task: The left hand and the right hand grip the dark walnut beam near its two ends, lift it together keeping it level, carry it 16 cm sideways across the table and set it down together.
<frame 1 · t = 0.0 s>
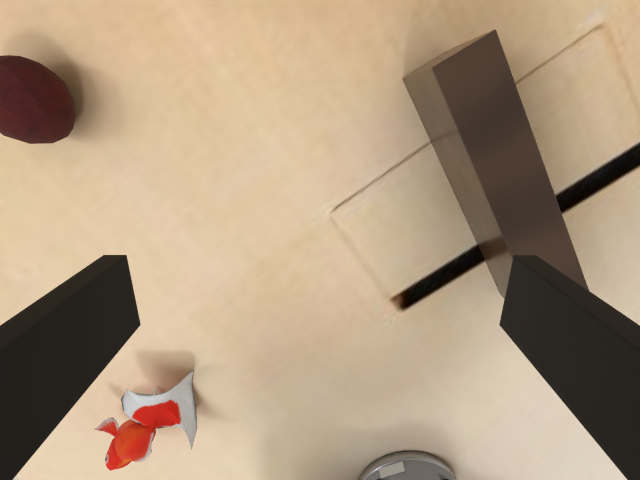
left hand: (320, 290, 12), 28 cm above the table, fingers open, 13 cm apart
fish: (162, 394, 49), on the table
beam: (477, 186, 39), on the table
dark maroon ball: (55, 103, 36), on the table
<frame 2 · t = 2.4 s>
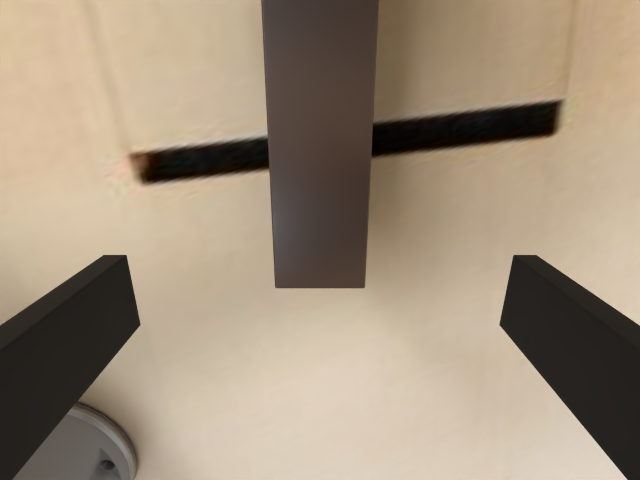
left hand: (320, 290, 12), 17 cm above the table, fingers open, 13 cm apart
beam: (320, 36, 24), on the table
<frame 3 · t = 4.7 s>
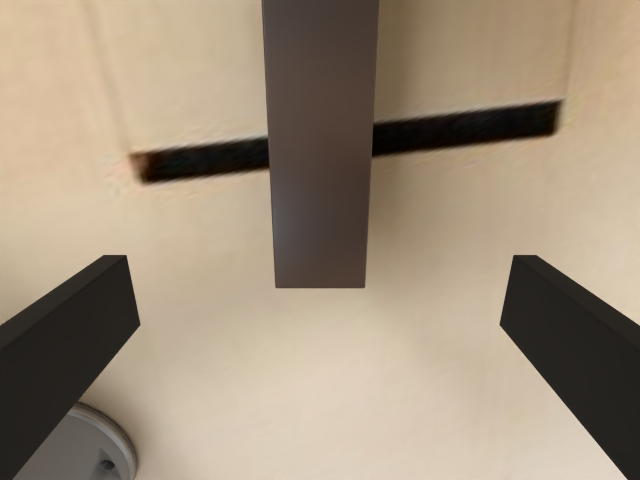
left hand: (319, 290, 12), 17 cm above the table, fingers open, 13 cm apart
beam: (320, 36, 24), on the table, touching right hand
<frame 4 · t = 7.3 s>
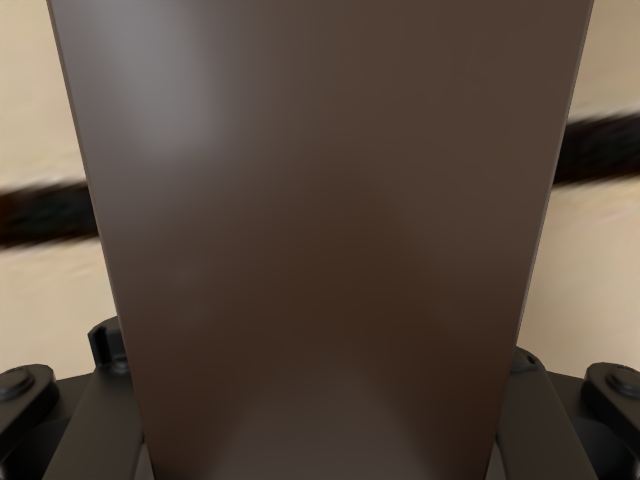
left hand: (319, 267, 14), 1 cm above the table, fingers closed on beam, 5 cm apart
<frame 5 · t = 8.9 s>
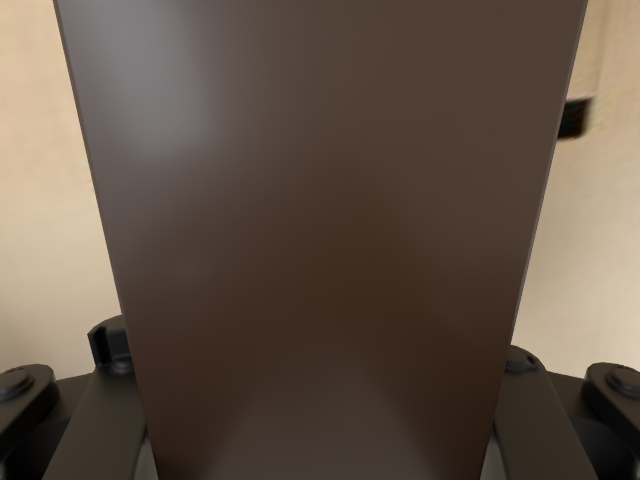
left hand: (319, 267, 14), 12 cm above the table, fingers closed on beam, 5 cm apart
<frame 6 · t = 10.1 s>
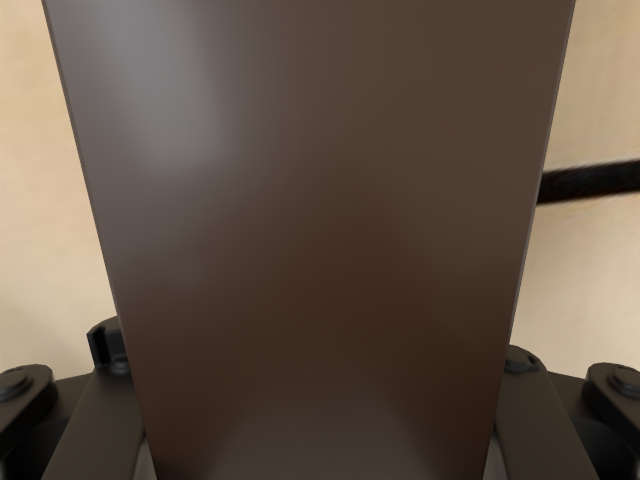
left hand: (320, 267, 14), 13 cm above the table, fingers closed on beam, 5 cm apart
when the left hand's fingers open (2 cm above the table, at t = 13.3 s): beam drops 1 cm, on the table.
when the right hand's fingers open (5 cm above the table, at t = 13.5 s): beam stays where it is, on the table.
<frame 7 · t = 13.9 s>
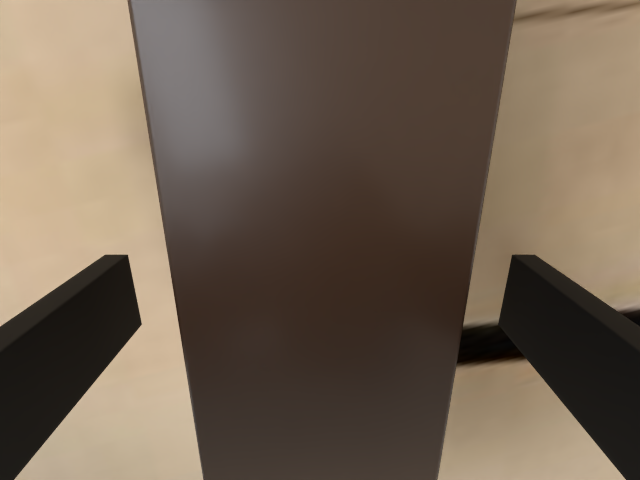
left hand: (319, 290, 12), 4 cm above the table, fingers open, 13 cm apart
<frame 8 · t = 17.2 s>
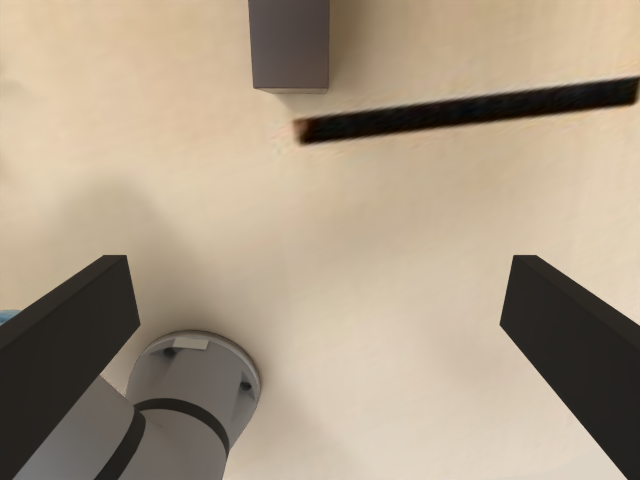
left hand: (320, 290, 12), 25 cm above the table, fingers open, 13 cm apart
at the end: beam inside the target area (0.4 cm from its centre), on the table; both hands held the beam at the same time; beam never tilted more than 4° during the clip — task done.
